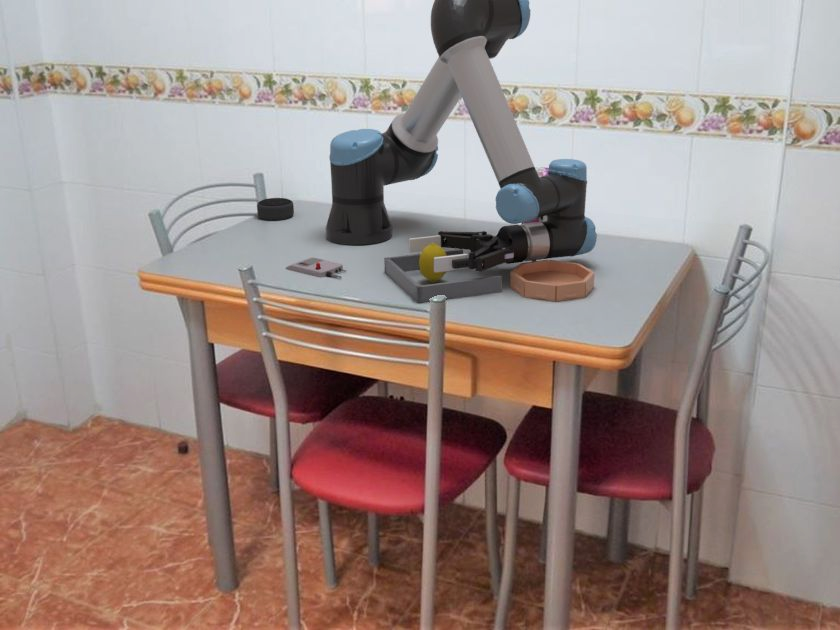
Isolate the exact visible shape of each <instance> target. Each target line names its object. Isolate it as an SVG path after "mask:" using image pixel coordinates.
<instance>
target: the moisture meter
mask: <svg viewBox="0 0 840 630" xmlns="http://www.w3.org/2000/svg"><path fill="white" fill-rule="evenodd" d="M343 266H344V265H343V264H342V263H339V262H335V261H331V260H328V259H327V260H326V259H323V258H322V259H321V258H319V257H309V258H305V259H302V260H300V261H297V262H295V263H292V264H290V265H289V264H288V265H287V266H286V267H285V270H289V271H292V272H296V273H301V274H305V275H309V276H313V277H316V278H317V277H318V278H325V277H329V278H332V277H333V278H339V279H342V278H343V277H342V276H339V275H338V274H337V273H342V272H347V270H345V269H344V267H343Z"/></svg>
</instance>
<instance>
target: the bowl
mask: <svg viewBox="0 0 840 630" xmlns="http://www.w3.org/2000/svg"><path fill="white" fill-rule="evenodd" d="M509 273H510V274H509V275H510V276H509V277H510V279H509V280H510V281H509V287H510V288H511V289H512V290H513V291H514V292H516V293H517V294H519V295H520V296H522V297H524V298H529V299H534V300H542V301H551V302H560V301H561V302H562V301H569V300H576V299H582V298H583V299H584V298H586V297H587V296H588V295H589V294H590V293H591V292H592V290H593V289H594V287H595V271H593V270H592V269H590V268H588V267H586V266H585V265H582V264H581V263H578V262H572V261H563V260H555V259H541V260H536V261H534V262H532V261H525V262H519V263H518V265H517V266H515V267H514V268H513V269H512V270H511V271H510V272H509Z"/></svg>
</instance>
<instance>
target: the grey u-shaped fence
mask: <svg viewBox="0 0 840 630" xmlns="http://www.w3.org/2000/svg"><path fill="white" fill-rule="evenodd" d="M444 251H445V252H446V255H447V256H451V255H459V254H464V249H455V248H454V249H448V250H444ZM420 254H421V253H413V254H406V255H398V256H390V257H389V256H388V257H387V256H386V257H383V258H384V265H383V266H384V273H385V274H386V275H387V276H388V277H389V278H390V279H391V280H393V281H394V283H396V284H397V285H398V286H399V287H400V288H402V290H404V291H405V293H406V294H407V295H409V296H410V298H412V299H413V300H414V301H415V302H416V303H418V304H420V303H427V302H428V301H429V299H430V298H432V297H434V296H437V295H445V296H446V297H447V299H446V300H449V299H457V298H465V297H466V298H467V297H471V296H473V297H474V296H478V295H480V296H481V295H488V294H493V293H501V292H503V291H502V287H503V286H502V283H503V282H502V281H503V278H502V277H503V276H502V275H493V276H492V275H491V276H484V277H483V276H482V277H476V278H469V279H461V280H453V281H446V282H445V281H444V282H438V283H431V284H424V285H420V284H419V283H418V282H417V281H416V280H415V279H413V278H412V277H411V276H410V275H409V274H408V273H406V272H407V271H414V270H415V271H416V270H420V267H419V258H420ZM429 302H430V301H429ZM429 302H428V303H429Z"/></svg>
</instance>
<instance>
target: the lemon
mask: <svg viewBox="0 0 840 630" xmlns="http://www.w3.org/2000/svg"><path fill="white" fill-rule="evenodd" d="M445 251H446V250H445V249H444V247H443V248H442V247H440V246H439V245H436V244H435V243H431V245H428V246H426V247H425V248H424V249H423V250H422V251H421V253H419V254H420V258H419V267H420V269H419V271H420V273H421V275H422V276H423V277H424V278H425V279H427V280H429V281H430V282H431V284H436V282H437V281H438V280H441V279H442V278H443V277H444V276H445V275H446V273H447V271H444V272H436V273H435V272H434V257H443V256H447V255H446V252H445Z"/></svg>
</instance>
